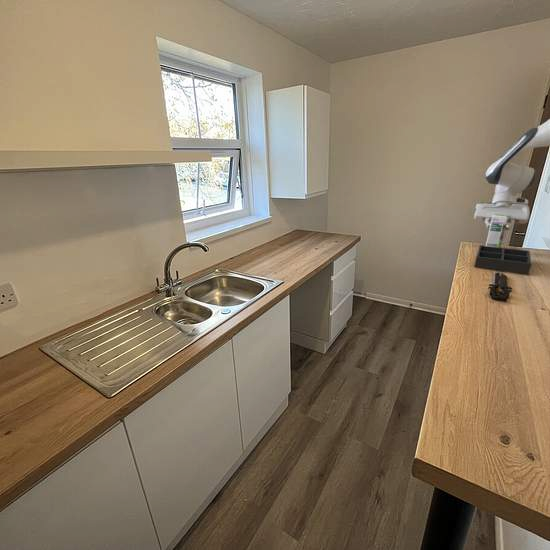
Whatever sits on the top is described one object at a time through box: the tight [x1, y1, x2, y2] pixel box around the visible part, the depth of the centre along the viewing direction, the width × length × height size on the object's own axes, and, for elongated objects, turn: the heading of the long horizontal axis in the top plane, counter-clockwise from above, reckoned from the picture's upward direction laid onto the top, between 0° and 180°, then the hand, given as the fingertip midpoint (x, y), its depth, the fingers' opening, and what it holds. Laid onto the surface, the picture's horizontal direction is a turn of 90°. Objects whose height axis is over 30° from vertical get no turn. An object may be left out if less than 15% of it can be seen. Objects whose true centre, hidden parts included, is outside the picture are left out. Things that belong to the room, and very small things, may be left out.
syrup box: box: [485, 214, 509, 248], centre depth 136 cm, size 6×6×14 cm
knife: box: [488, 271, 513, 302], centre depth 105 cm, size 25×6×1 cm, turn 140°
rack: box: [473, 244, 532, 276], centre depth 123 cm, size 17×17×5 cm
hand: (497, 228), depth 135 cm, fingers closed on syrup box, 6 cm apart
